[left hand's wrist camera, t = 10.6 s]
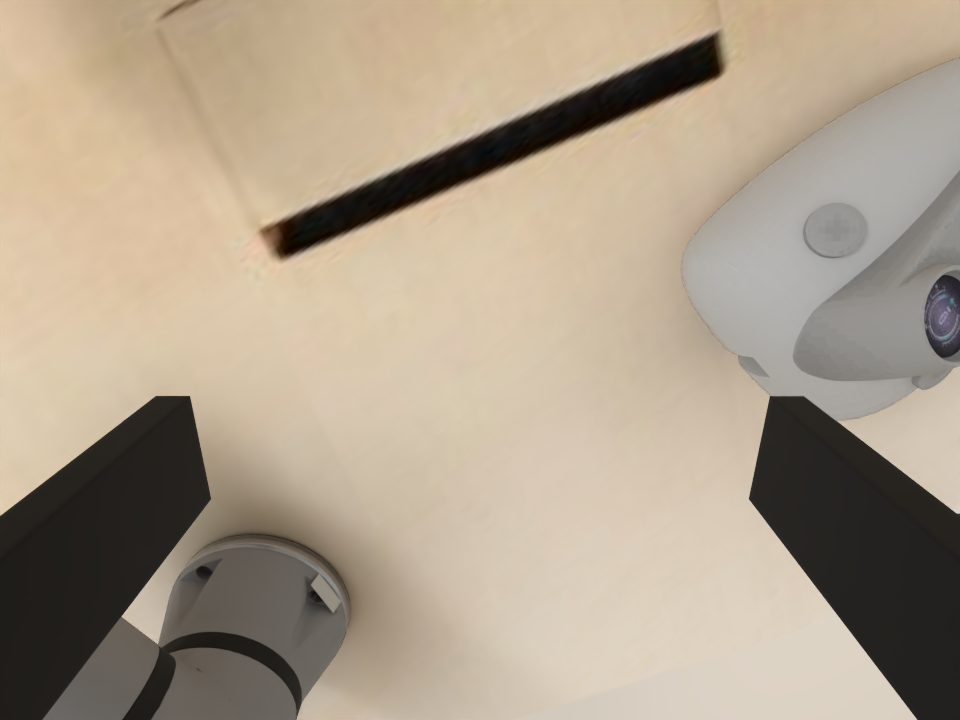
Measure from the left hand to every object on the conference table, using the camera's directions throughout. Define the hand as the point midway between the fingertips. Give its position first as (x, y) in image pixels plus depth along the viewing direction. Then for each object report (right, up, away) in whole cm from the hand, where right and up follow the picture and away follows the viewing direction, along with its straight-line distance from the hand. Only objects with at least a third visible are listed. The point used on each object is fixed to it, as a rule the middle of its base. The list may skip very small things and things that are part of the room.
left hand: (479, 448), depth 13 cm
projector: (+25, +12, +25) cm, 37 cm away
